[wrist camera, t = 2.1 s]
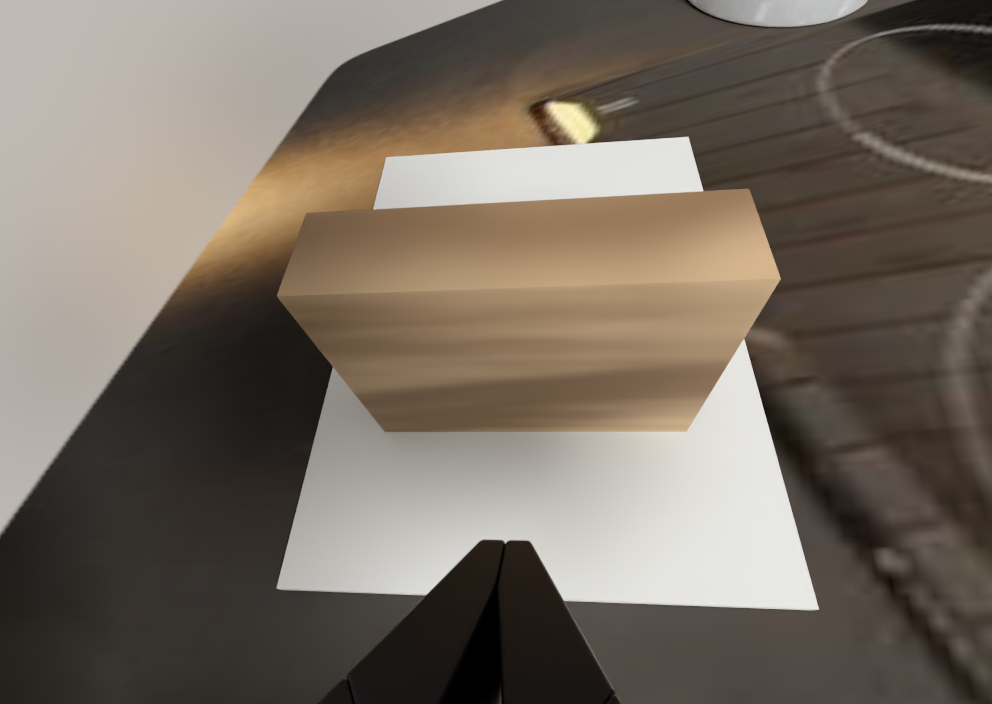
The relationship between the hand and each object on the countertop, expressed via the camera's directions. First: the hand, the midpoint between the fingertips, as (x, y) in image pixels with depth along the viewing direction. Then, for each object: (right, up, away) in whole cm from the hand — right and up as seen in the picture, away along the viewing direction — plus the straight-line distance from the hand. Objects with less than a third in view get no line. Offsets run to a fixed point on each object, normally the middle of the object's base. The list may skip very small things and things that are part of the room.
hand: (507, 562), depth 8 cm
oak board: (+1, +2, +12) cm, 12 cm away
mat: (+1, +5, +14) cm, 16 cm away
